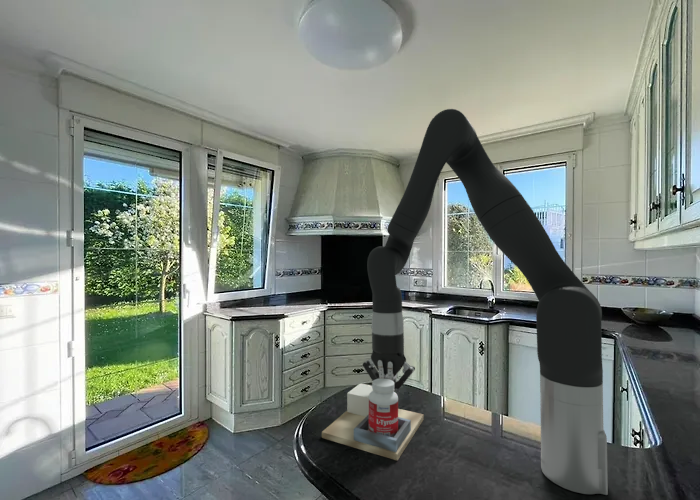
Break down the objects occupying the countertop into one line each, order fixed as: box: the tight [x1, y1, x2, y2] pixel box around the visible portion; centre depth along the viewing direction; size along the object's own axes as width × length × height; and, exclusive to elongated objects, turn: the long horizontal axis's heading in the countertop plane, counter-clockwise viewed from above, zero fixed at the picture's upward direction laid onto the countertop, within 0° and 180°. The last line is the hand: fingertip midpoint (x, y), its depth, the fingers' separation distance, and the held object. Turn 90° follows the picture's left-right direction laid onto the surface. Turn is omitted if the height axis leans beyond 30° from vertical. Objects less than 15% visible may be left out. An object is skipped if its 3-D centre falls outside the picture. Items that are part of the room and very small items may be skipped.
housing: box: [346, 383, 373, 417], centre depth 81 cm, size 7×7×4 cm
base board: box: [321, 408, 425, 461], centre depth 75 cm, size 17×18×4 cm
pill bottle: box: [369, 378, 399, 438], centre depth 70 cm, size 6×6×11 cm
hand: (388, 404), depth 78 cm, fingers closed
